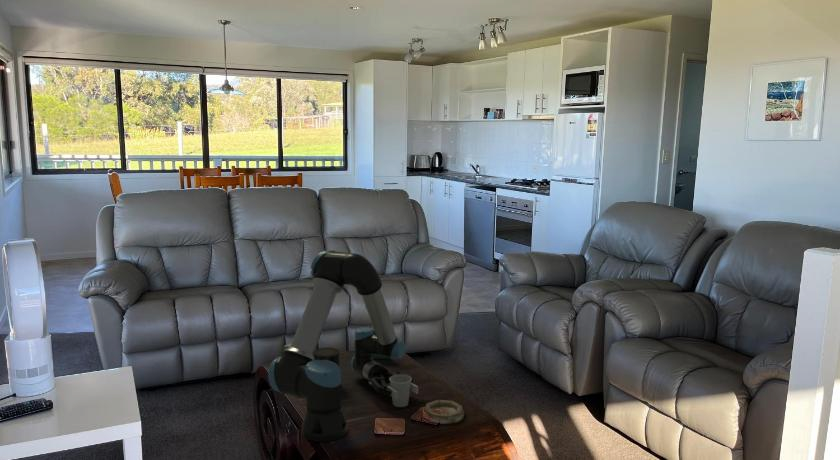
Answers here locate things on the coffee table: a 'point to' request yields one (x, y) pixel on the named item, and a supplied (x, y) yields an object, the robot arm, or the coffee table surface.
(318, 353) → the coffee can
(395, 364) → the coffee table surface
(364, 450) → the coffee table surface
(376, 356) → the coffee box
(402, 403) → the dixie cup
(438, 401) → the rimmed coaster
